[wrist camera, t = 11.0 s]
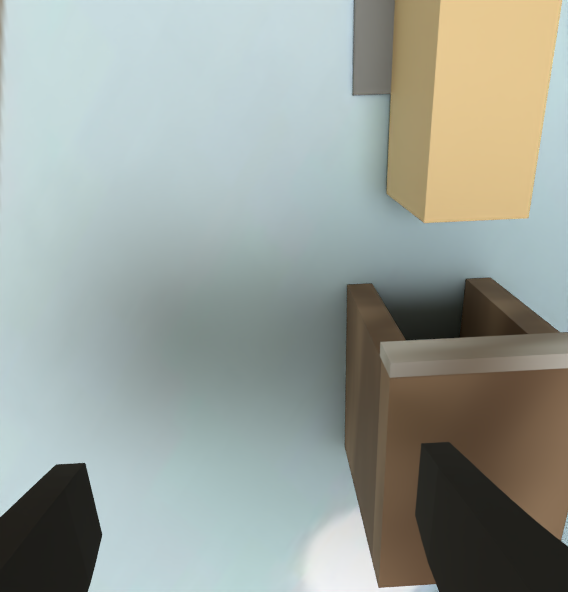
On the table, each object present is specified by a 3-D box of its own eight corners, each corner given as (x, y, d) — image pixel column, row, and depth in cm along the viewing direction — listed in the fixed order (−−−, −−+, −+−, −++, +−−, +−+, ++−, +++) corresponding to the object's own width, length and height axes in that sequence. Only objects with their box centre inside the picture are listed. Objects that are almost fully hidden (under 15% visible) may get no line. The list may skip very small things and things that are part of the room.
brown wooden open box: (491, 267, 20) (606, 351, 13) (469, 439, 23) (552, 576, 16) (347, 274, 19) (390, 363, 13) (344, 446, 23) (378, 587, 16)
